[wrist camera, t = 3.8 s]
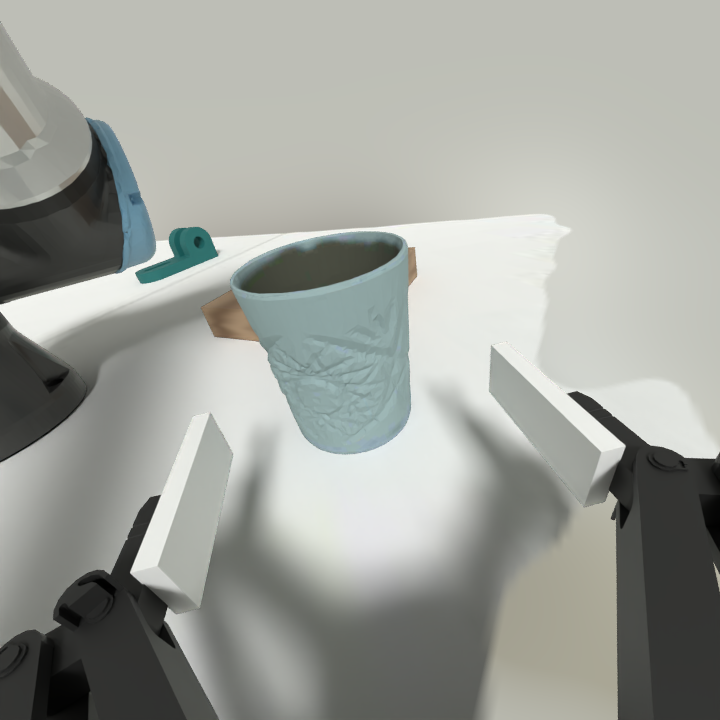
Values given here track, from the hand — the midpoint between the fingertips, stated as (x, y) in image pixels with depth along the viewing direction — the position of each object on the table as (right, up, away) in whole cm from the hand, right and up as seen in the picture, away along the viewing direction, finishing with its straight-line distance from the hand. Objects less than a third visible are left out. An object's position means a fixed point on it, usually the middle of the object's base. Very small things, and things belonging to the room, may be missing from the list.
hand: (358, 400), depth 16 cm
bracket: (-42, +23, +63) cm, 79 cm away
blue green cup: (0, -2, +10) cm, 10 cm away
